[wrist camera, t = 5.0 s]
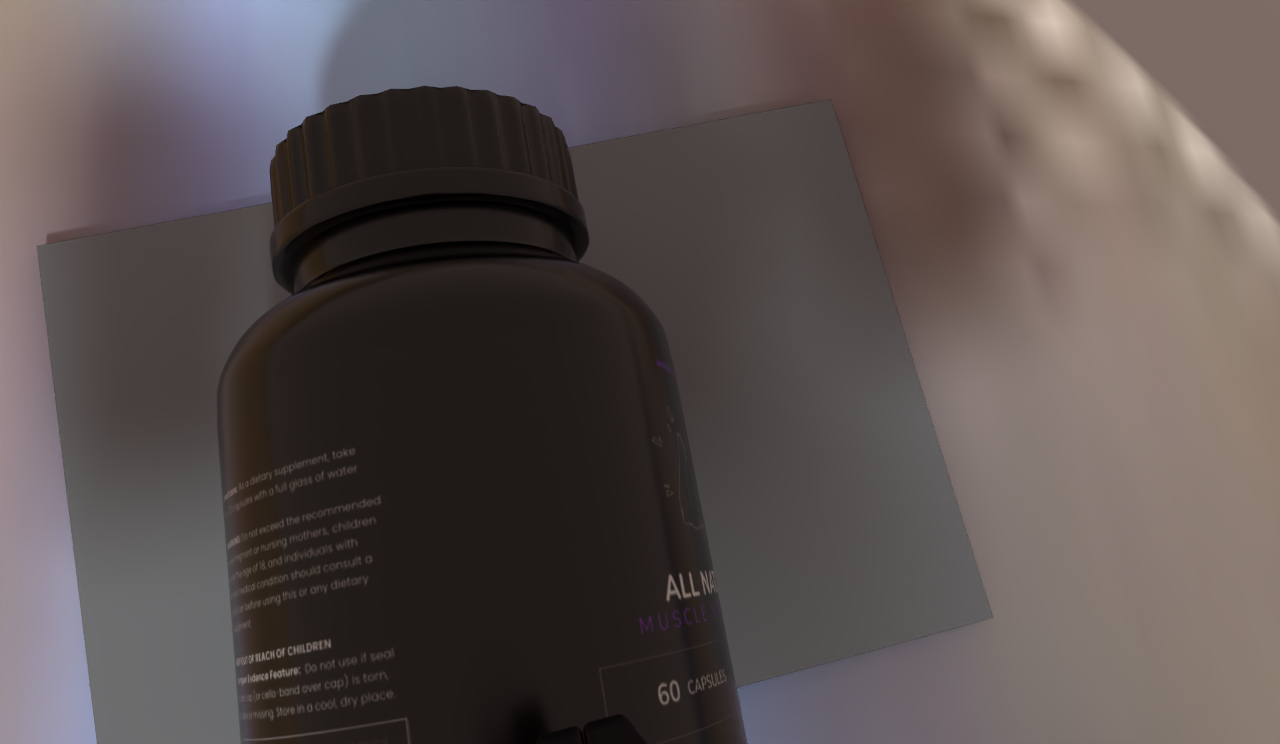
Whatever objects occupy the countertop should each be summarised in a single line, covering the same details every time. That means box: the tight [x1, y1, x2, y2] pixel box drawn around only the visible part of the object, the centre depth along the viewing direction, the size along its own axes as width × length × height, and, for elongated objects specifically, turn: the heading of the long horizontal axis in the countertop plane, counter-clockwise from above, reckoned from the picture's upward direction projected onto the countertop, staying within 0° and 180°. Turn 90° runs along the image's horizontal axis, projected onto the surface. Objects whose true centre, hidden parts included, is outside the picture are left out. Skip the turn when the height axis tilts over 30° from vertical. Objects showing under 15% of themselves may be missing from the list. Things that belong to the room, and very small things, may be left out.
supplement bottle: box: [217, 86, 748, 744], centre depth 14 cm, size 7×7×12 cm
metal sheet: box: [37, 99, 993, 744], centre depth 18 cm, size 11×16×1 cm
